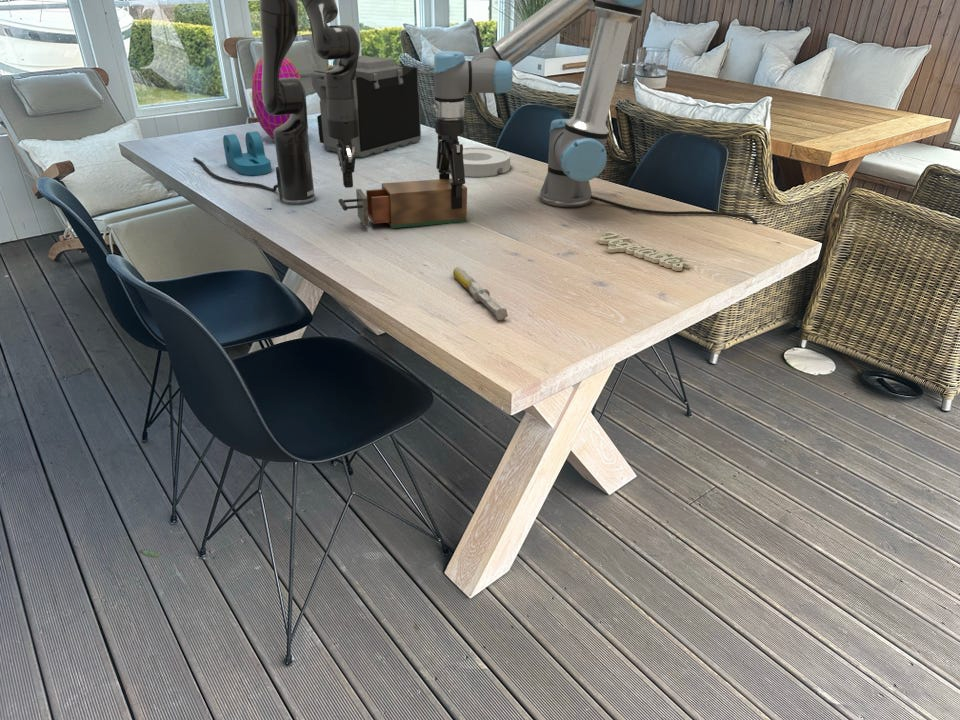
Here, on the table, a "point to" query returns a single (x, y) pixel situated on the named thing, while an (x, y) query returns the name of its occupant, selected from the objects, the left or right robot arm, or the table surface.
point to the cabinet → (424, 203)
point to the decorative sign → (642, 251)
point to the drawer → (371, 206)
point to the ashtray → (484, 161)
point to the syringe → (479, 293)
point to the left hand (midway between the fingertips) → (348, 186)
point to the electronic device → (377, 106)
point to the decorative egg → (264, 118)
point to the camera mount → (246, 154)
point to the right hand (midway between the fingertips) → (450, 202)
